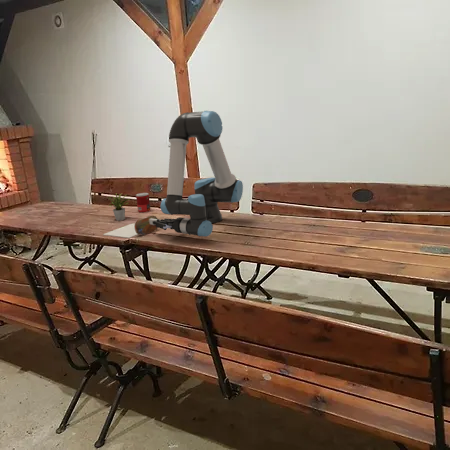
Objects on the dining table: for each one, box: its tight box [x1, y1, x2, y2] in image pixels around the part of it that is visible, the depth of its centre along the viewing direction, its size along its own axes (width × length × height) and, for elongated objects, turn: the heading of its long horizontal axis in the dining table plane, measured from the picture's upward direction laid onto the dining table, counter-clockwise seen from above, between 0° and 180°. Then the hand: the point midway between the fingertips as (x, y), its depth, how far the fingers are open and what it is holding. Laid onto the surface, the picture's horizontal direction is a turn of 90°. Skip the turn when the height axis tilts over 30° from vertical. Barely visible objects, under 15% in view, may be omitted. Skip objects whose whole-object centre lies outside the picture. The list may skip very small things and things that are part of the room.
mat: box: [102, 223, 139, 239], centre depth 244 cm, size 19×22×1 cm
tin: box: [134, 215, 159, 236], centre depth 237 cm, size 15×3×8 cm, turn 143°
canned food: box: [135, 192, 152, 213], centre depth 287 cm, size 8×8×11 cm
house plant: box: [107, 192, 131, 221], centre depth 269 cm, size 14×14×16 cm
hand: (150, 221), depth 234 cm, fingers closed
